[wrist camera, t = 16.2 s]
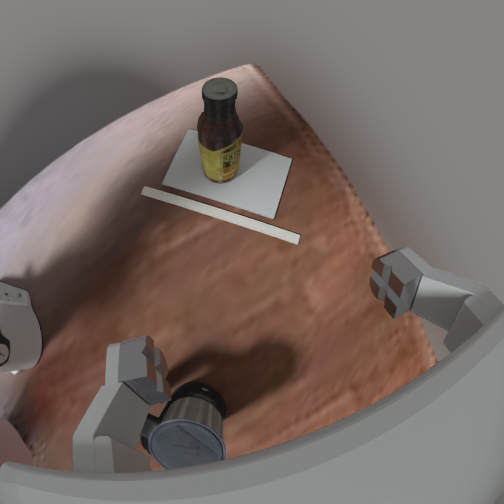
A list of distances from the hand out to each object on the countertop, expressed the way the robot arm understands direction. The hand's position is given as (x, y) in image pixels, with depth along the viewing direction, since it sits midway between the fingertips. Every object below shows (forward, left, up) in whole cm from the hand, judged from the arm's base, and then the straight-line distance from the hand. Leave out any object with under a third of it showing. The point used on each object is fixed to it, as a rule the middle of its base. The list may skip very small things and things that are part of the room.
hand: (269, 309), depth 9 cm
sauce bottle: (-10, +20, -34) cm, 41 cm away
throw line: (-8, +12, -34) cm, 37 cm away
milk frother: (-3, -23, -35) cm, 42 cm away
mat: (-9, +20, -34) cm, 41 cm away
